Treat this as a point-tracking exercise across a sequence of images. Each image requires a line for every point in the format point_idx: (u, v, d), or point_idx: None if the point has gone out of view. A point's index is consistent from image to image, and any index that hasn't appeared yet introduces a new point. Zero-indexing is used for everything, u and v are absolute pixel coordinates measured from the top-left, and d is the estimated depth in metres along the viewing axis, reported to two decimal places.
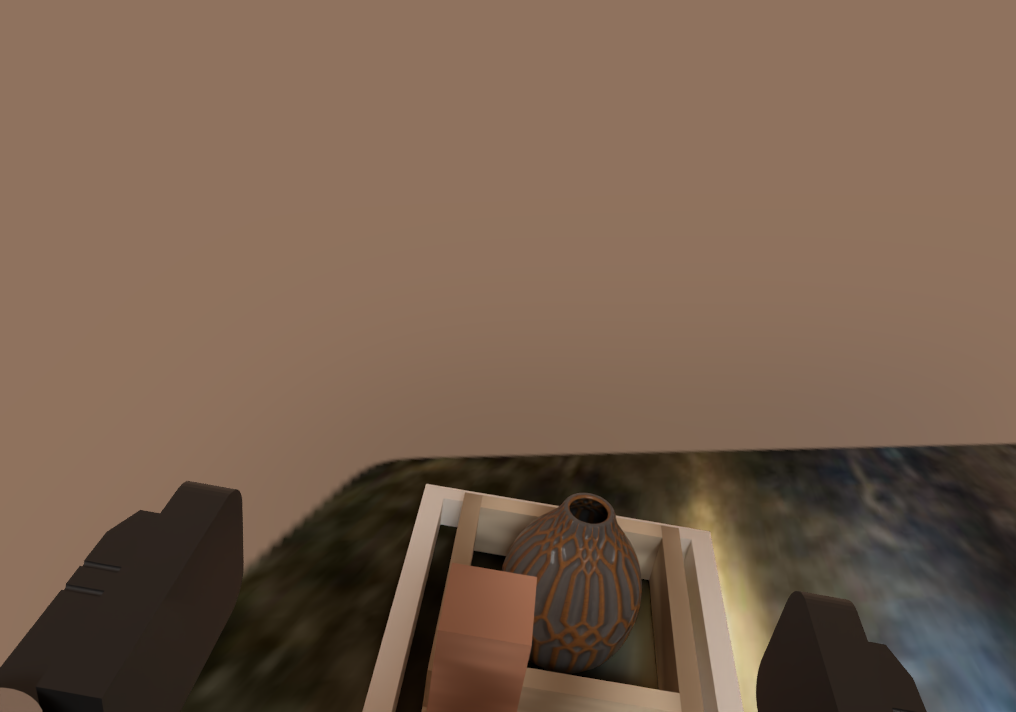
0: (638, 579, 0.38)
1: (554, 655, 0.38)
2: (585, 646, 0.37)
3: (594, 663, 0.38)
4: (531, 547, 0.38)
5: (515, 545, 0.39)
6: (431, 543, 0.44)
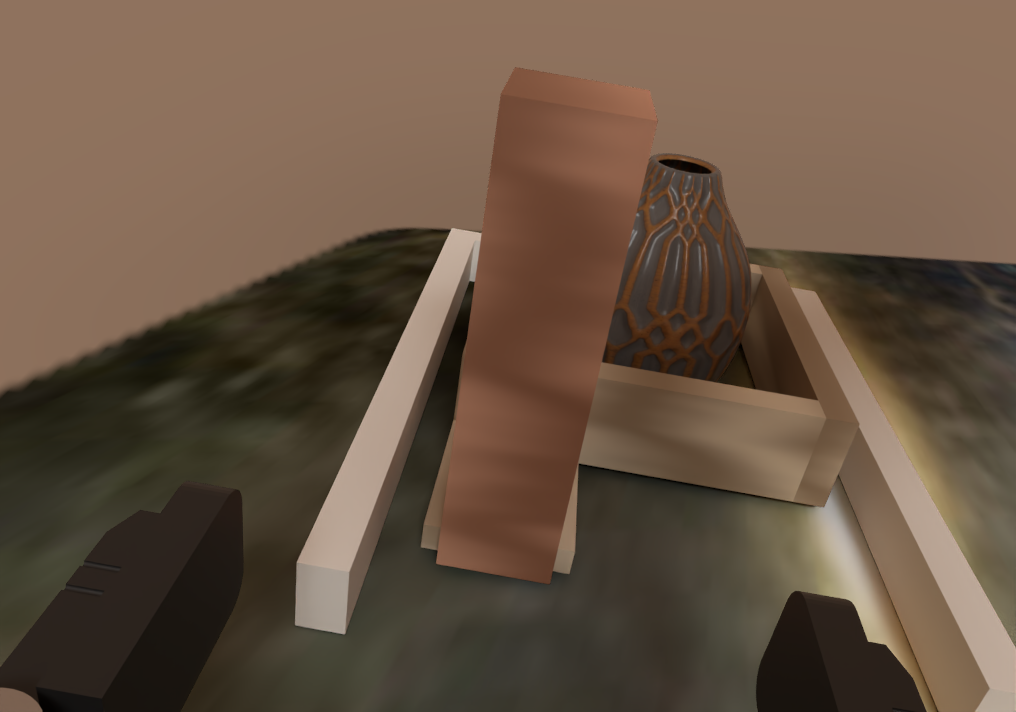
0: (750, 272, 0.28)
1: None
2: (680, 350, 0.27)
3: None
4: None
5: None
6: (460, 273, 0.33)
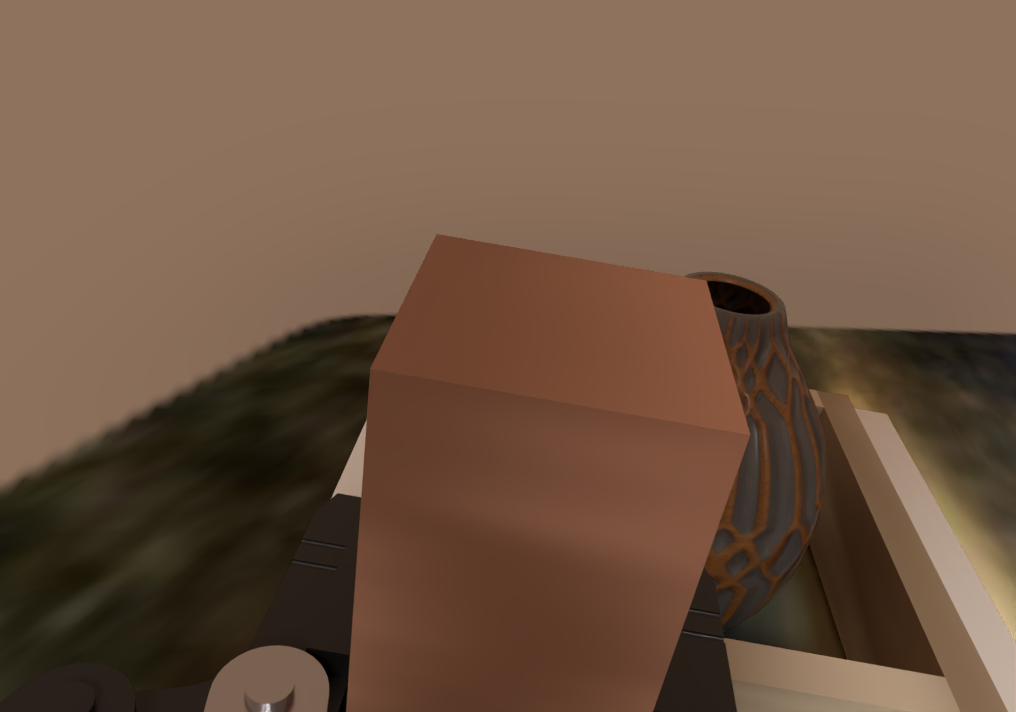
0: (825, 447, 0.19)
1: None
2: (724, 578, 0.18)
3: (734, 618, 0.19)
4: None
5: None
6: None
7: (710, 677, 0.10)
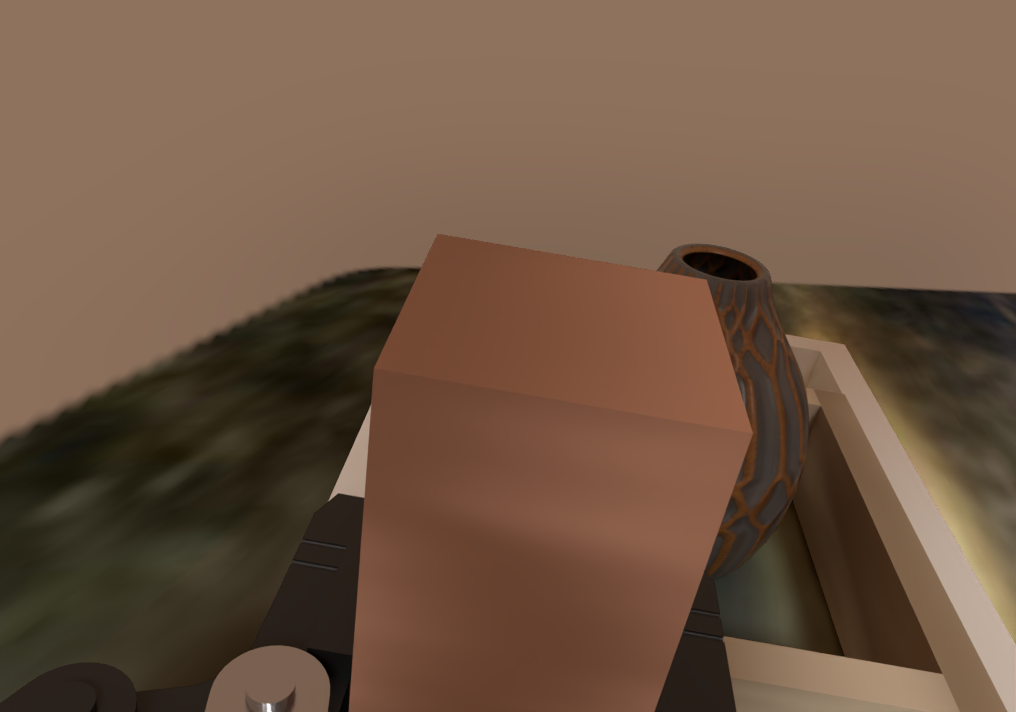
0: (808, 406, 0.20)
1: None
2: None
3: (725, 565, 0.20)
4: None
5: None
6: None
7: (709, 677, 0.10)
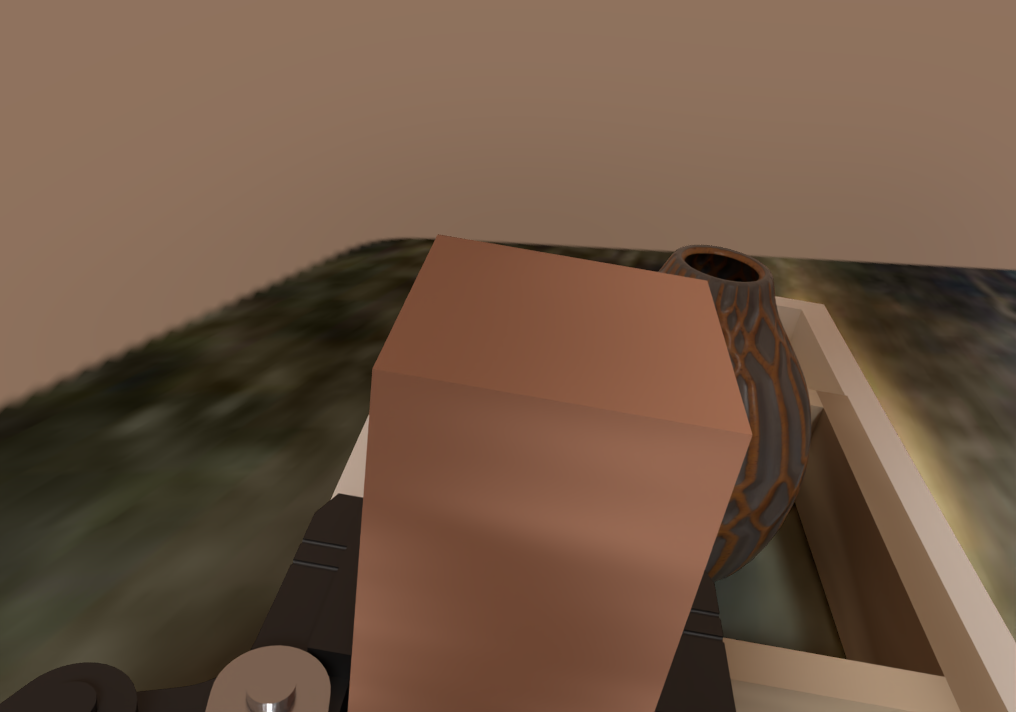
0: (810, 407, 0.20)
1: None
2: None
3: (726, 566, 0.20)
4: None
5: None
6: None
7: (709, 677, 0.10)
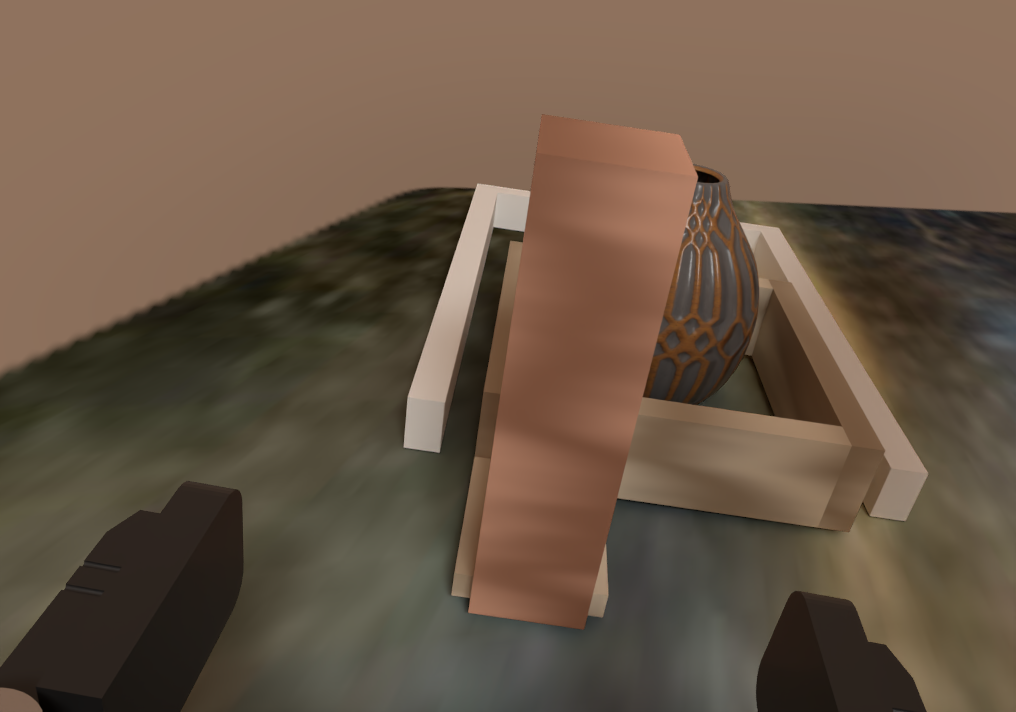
0: (757, 274, 0.29)
1: (651, 371, 0.28)
2: (694, 353, 0.28)
3: (702, 386, 0.29)
4: None
5: None
6: (490, 216, 0.41)
7: None
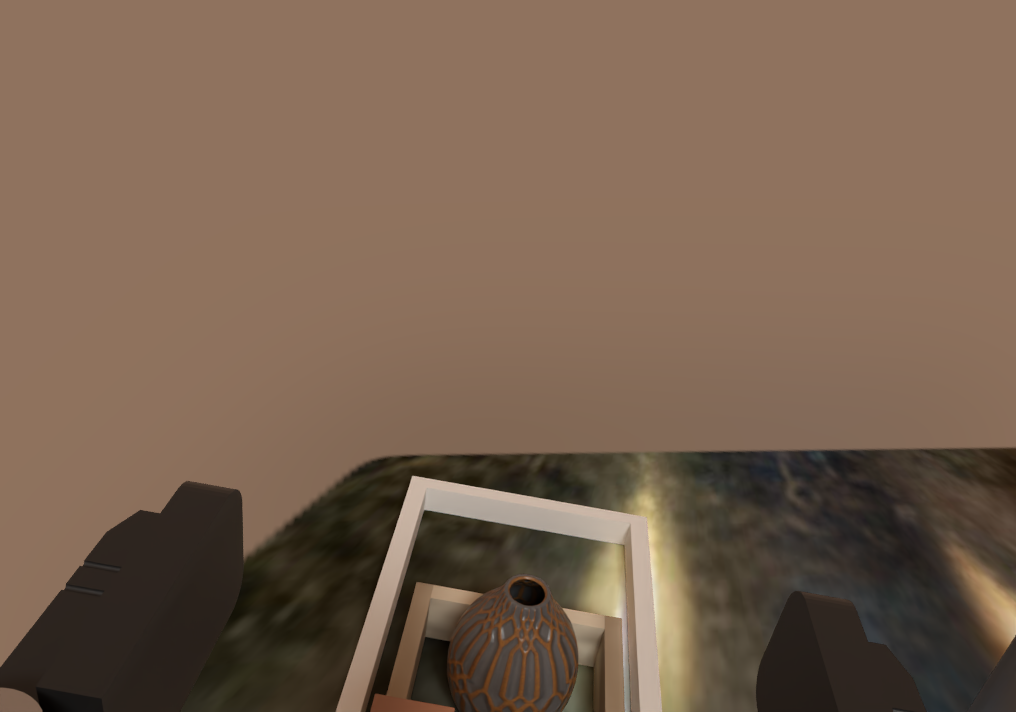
0: (573, 654, 0.42)
1: None
2: None
3: None
4: (474, 625, 0.41)
5: (461, 621, 0.43)
6: (415, 523, 0.54)
7: None
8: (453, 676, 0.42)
